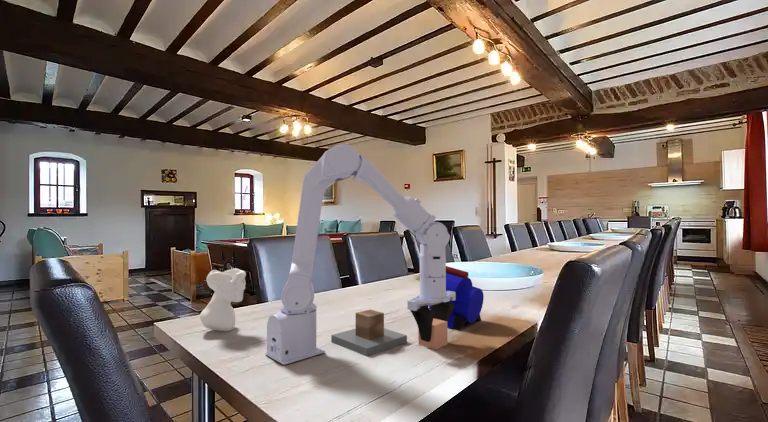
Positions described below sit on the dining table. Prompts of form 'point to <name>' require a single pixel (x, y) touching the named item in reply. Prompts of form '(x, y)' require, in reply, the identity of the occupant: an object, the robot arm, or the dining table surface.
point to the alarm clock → (463, 298)
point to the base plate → (368, 341)
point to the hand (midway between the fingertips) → (432, 337)
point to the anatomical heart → (223, 299)
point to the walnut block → (369, 324)
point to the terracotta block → (436, 335)
